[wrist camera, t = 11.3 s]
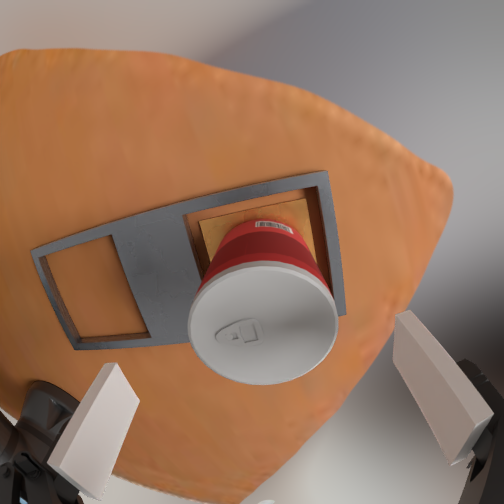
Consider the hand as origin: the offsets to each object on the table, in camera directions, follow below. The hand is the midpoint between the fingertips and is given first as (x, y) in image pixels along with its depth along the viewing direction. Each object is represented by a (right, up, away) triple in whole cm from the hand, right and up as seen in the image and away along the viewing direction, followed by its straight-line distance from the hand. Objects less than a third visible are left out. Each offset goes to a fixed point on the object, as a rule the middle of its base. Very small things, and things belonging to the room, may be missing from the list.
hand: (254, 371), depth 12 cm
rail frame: (-8, +3, +14) cm, 16 cm away
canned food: (+1, +5, +13) cm, 14 cm away
